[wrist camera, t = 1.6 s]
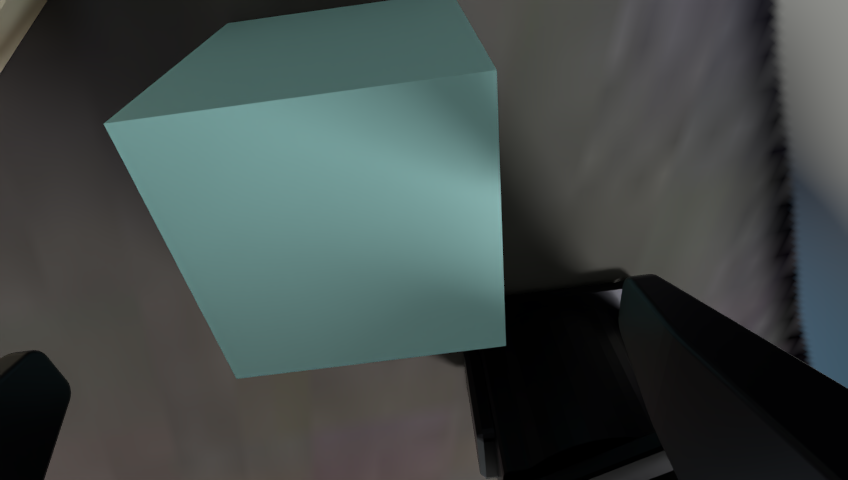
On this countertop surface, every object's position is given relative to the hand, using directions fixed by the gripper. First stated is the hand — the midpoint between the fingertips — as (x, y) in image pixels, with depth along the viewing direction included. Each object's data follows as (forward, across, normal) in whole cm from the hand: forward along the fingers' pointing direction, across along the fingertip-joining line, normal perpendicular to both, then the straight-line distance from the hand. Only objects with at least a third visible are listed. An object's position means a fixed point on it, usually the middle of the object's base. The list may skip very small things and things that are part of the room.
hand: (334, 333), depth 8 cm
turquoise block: (+9, 0, 0) cm, 9 cm away
